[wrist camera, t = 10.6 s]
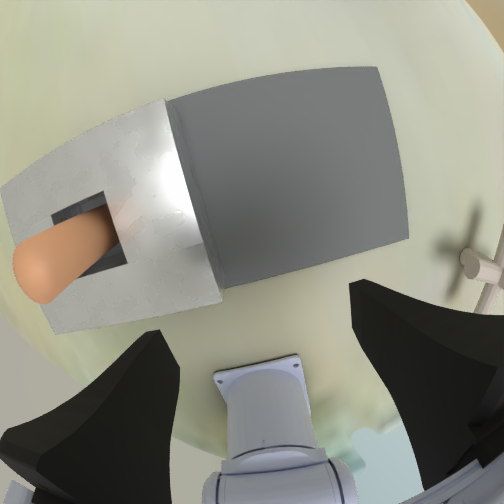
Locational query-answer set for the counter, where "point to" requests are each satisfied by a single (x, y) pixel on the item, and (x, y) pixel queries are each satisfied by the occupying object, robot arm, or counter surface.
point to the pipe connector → (485, 274)
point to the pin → (63, 253)
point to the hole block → (125, 220)
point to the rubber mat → (294, 169)
